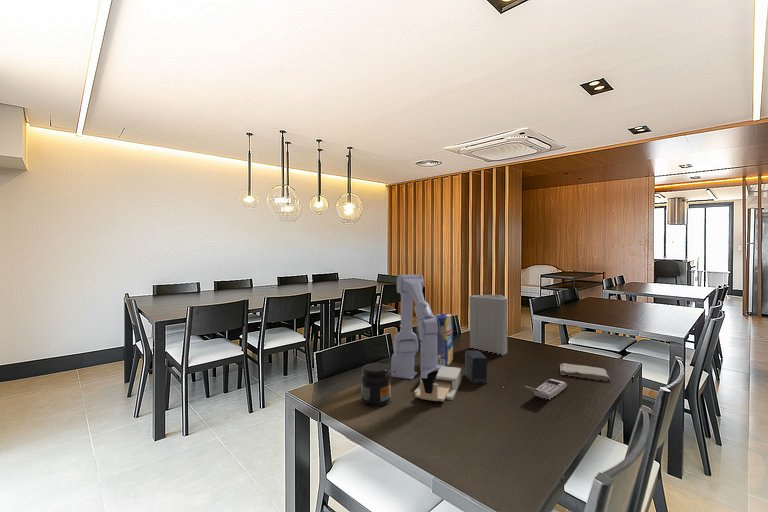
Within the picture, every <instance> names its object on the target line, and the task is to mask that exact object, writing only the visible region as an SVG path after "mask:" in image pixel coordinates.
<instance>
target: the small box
mask: <svg viewBox="0 0 768 512" xmlns="http://www.w3.org/2000/svg"><path fill="white" fill-rule="evenodd" d="M487 368H488V358H487V357H486V356H485V355H484V354H483V353H482V351H479V350H464V376H465V377H466V378H467V380H468V382H470V383H471V384H472V385H474V384H475V385H476V384H478V385H479V384H482V385H483V384H484V385H485V384H487V382H488V381H487V379H488V377H487V375H488V373H487V372H488V371H487V370H488V369H487Z"/></svg>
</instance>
